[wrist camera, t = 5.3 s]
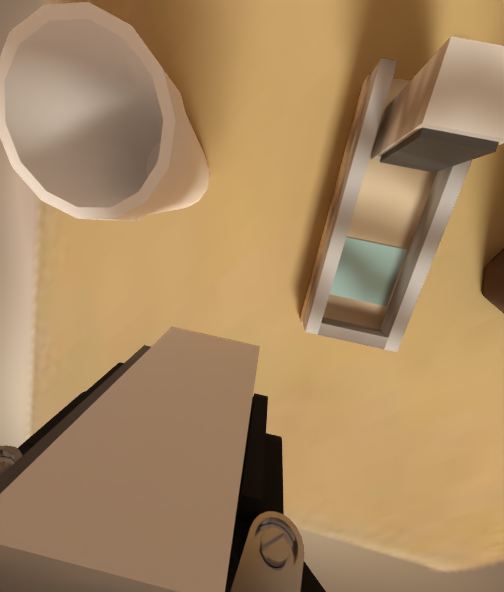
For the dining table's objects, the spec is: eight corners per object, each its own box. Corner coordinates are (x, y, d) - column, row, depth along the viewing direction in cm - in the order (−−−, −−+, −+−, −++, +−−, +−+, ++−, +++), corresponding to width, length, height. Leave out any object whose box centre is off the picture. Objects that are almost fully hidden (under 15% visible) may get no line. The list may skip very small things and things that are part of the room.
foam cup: (241, 149, 24) (205, 65, 12) (202, 239, 27) (138, 249, 14) (150, 101, 24) (11, -41, 11) (119, 196, 26) (-23, 168, 14)
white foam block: (151, 414, 13) (-34, 695, 5) (161, 324, 11) (-73, 525, 4) (239, 435, 13) (181, 756, 5) (259, 346, 11) (223, 602, 4)
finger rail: (362, 83, 22) (425, -20, 13) (470, 103, 22) (613, 12, 13) (299, 318, 28) (311, 363, 19) (383, 337, 28) (437, 391, 18)
